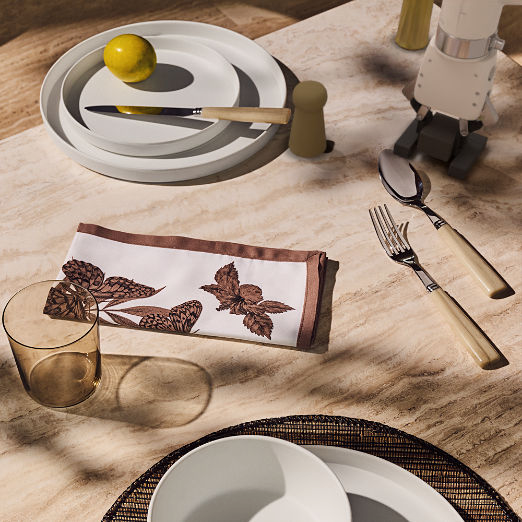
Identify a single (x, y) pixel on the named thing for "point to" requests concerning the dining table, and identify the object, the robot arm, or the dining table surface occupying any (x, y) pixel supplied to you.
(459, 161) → the dark gray u-shaped block
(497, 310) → the dining table surface
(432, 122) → the charcoal block
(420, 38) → the vase
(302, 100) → the olive pawn
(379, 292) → the dining table surface
